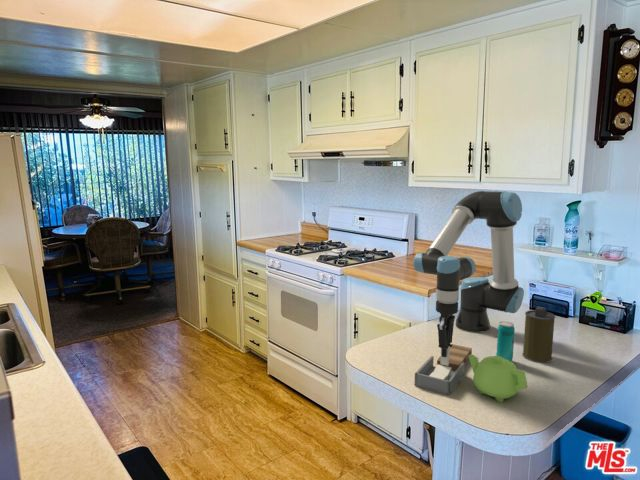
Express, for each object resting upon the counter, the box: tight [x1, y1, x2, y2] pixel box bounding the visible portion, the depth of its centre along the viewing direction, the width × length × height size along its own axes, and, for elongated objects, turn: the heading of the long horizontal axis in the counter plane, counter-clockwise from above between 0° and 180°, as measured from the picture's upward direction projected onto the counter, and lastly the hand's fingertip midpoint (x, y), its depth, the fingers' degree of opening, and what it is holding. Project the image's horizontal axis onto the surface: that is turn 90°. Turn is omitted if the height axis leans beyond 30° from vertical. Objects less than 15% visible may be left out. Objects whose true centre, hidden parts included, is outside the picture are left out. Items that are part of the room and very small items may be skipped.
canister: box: [521, 305, 556, 363], centre depth 172 cm, size 11×10×20 cm
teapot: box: [468, 354, 529, 403], centre depth 145 cm, size 20×13×13 cm
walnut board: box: [436, 343, 473, 371], centre depth 170 cm, size 18×8×3 cm, turn 147°
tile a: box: [434, 364, 452, 380], centre depth 157 cm, size 5×5×2 cm
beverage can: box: [496, 321, 515, 362], centre depth 168 cm, size 6×6×15 cm
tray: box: [414, 355, 465, 396], centre depth 155 cm, size 17×12×4 cm
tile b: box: [429, 372, 446, 380], centre depth 152 cm, size 5×5×2 cm
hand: (444, 364), depth 159 cm, fingers closed
